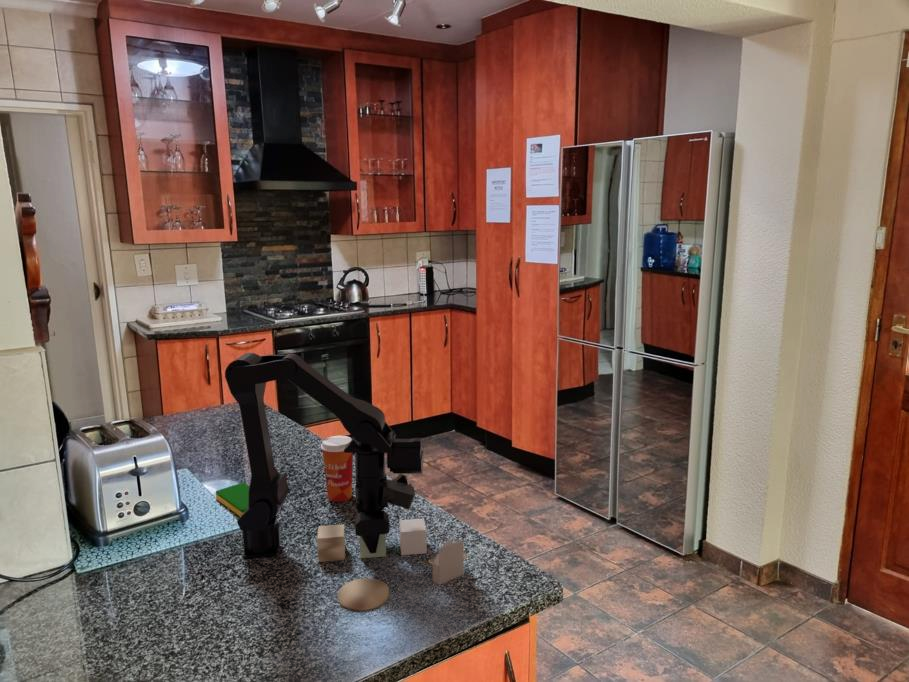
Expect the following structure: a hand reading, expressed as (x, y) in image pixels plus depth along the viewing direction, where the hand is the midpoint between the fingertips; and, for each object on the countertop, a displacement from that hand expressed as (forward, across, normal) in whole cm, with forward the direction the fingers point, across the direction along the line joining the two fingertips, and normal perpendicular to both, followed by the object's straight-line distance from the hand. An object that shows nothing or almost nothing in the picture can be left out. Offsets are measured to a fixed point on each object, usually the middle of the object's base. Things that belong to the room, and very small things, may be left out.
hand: (372, 546), depth 130 cm
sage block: (+1, 0, 0) cm, 1 cm away
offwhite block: (+1, 0, -8) cm, 8 cm away
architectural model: (+2, -12, -14) cm, 18 cm away
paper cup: (+1, +26, +7) cm, 27 cm away
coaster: (+1, -15, +2) cm, 15 cm away
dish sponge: (+2, +26, +29) cm, 39 cm away
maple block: (+1, 0, +8) cm, 8 cm away
